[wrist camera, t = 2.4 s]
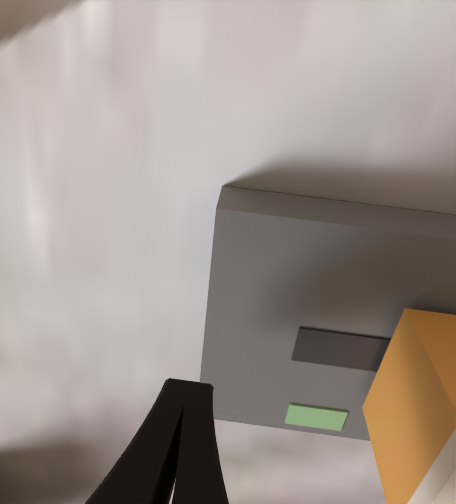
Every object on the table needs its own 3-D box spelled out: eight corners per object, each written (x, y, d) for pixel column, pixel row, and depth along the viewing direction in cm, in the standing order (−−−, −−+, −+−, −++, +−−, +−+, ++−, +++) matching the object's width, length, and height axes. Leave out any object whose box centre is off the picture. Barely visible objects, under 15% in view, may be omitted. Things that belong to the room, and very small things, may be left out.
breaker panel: (682, 244, 13) (749, 277, 11) (535, 426, 18) (565, 469, 16) (222, 185, 14) (215, 210, 12) (202, 380, 19) (196, 418, 17)
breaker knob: (496, 320, 13) (610, 462, 8) (438, 417, 15) (504, 565, 11) (404, 308, 13) (472, 444, 8) (362, 407, 15) (398, 549, 11)
